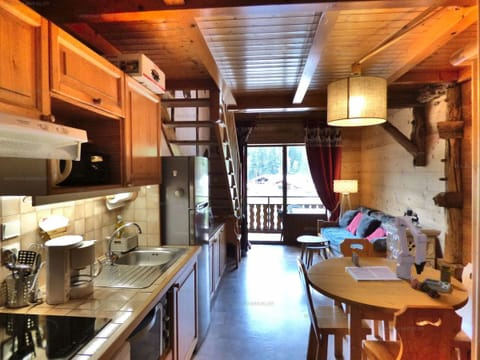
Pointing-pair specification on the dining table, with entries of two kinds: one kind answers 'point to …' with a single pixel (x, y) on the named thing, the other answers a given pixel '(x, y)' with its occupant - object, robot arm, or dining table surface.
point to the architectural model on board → (355, 258)
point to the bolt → (429, 290)
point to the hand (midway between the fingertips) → (420, 272)
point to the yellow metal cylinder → (445, 274)
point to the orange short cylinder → (414, 283)
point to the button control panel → (437, 285)
